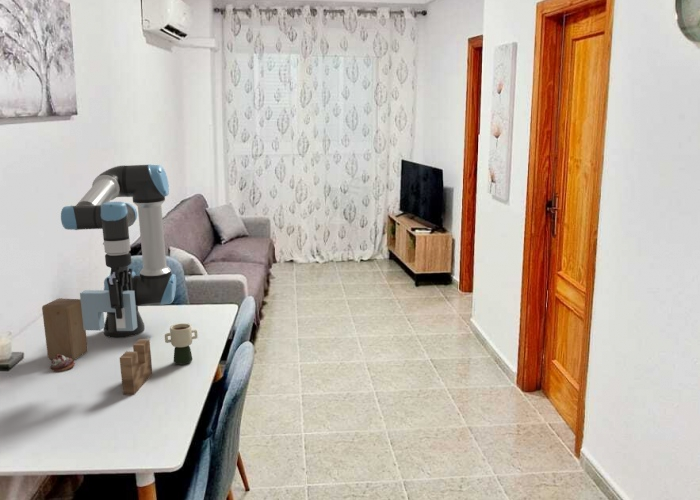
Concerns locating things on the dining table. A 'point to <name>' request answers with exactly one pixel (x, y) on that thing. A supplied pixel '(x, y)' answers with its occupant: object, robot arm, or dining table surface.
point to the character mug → (181, 342)
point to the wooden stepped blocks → (136, 367)
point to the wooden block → (64, 328)
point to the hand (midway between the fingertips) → (124, 325)
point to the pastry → (62, 363)
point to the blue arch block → (106, 309)
